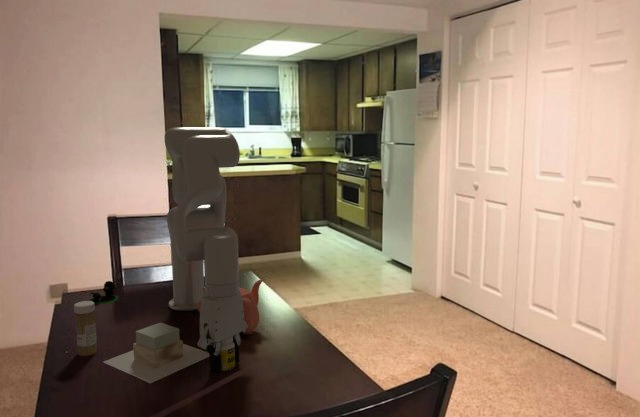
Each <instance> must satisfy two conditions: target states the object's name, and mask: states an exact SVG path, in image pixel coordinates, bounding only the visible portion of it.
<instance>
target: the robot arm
mask: <svg viewBox="0 0 640 417" xmlns="http://www.w3.org/2000/svg"><path fill="white" fill-rule="evenodd" d="M164 144H165V148H166V151H167V153H168V155H169V157H170V159H171V164H172V171H171V172H172V174H171V175H172V177H171V178H172V180H171V185H172V188H171V190H172V191H171V192H172V198H173V201H174V203H175V204H177V206H174V207H172V208H170V210H169V211H168V212H167V213H166V214H167V215H166V222H167V223H166V224H167V229H168V233H169V239H170V249H171V250H170V251H171V268H172V269H171V270H172V272H171V273H172V290H173V291H172V292H173V293H172V294H173V296H172V297H173V298H172V299H171V300H169V302H168V307H169V308H170V309H171V310H174V311H180V312H181V311H182V312H183V311H184V312H185V311H195V310H197V311H198V308H197V305H198V303H199V302H201V301H202V303H201V310H200V313H199V339H198V341H197V343H196V344H197V347H199V348H201V349H203V351H205V352H207V353H209V357H208V358H209V369H211V370H212V371H215V372H219V373H220V372H222V371H221V370H222V366H221V354H219V349H220V343H221V341H222V340H225V339H227V338H229V337H231V336H233V342H234V344H235V364H238V363H240V345H241V343H242V338H243V337H244V335H245V334H244V332H245V331H246V329H247V328H248V324H247V323H246V322H245V321H244V308H243V301H242V296H241V292H240V291H239V287H240V284H241V278H240V272H239V271H240V269H239V268H240V267H239V266H240V263H239V261H240V260H239V237H238V236H239V235H238V233H236V231H235V229H233V228H232V227H229V226H225V224H226V223H225V222H226V210H227V209H226V208H227V196H228V195H227V191H228V190H227V182H226V180H225V178H224V177H223V176H222V174H221V172H220V169H222V168H234V167H237V166H238V164H239V162H240V157H241V154H240V153H241V152H240V146H239V143H238V141H237V139H236V138H235V135H234V134H232V133H231V132H230V131H229V130H228V129H227V128H224V127H197V126H193V127H192V126H191V127H190V126H189V127H188V126H182V127H181V126H179V127H170V128H168V129H167V130H166V131H165V133H164ZM203 288H205V295H204V291H203ZM214 344H215V346H214Z"/></svg>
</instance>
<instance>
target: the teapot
mask: <svg viewBox="0 0 640 417" xmlns="http://www.w3.org/2000/svg"><path fill="white" fill-rule="evenodd" d="M263 282H264V279H263V278H262V279H259V280H256V281H255V282H254V283H253V286H252V288H251V291H250V290H248V289H247V288H243V287H240V286H239V291H240V292H241V296H242V301H243V308H244V321H245V322H246V323H247V324H248V328H247V329H246V331H245V332H244V335H247V336H248V335H252V334H253V333H254V332H253V330H255V329H256V328H257V326H258V325H259V323H260V313H259V309H258V305H259V300H260V299H259V297H260V296H259V290H260V286H261V284H262V283H263ZM203 291H204V295H205V288H203ZM201 303H202V301H201V302H199V303H198V305H197V308H198V309H197V311H198V313H199V314H200V310H201Z"/></svg>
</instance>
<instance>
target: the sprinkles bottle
mask: <svg viewBox="0 0 640 417" xmlns="http://www.w3.org/2000/svg"><path fill="white" fill-rule="evenodd" d="M95 305H96V304H94V302H92V301H89V300H83V301H79V302H76V303H75V304H73V311H74V314H75V330H76V331H75V332H76V333H75V334H76V345H77V355H78V356H80V357H88V356H89V357H90V356H92V355H95V354H96V353H97V352H98V350H97V348H98V347H97V328H96V327H97V326H96V317H95V316H96V314H95V310H96V306H95Z"/></svg>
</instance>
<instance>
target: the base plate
mask: <svg viewBox="0 0 640 417" xmlns="http://www.w3.org/2000/svg"><path fill="white" fill-rule="evenodd" d="M207 358H209V353H207V351H205V350H202V349H199V348H196V347H194V346H191V345H188V344H185V343H183V357H181V358H179V359H176V360H174V361H172V362H170V363H167V364H165V365H163V366H160V367H158V368H156V369H155V368H153V367H150V366H148V365H145V364H143V363H141V362H138V361H136V360H134V350H133V349H132V350H129V351H127V352H125V353H123V354H120V355H119V354H118V355H117V356H115V357H112V358H110V359H107V360H104V361H102V363H104V364H106V365H108V366H110V367H113V368H114V369H116V370H119V371H121V372H124V373H126V374H128V375H131V376H133V377H135V378H137V379H139V380H141V381H144V382H146V383H148V384H152V383H154V382H156V381H159V380H161V379H164V378H165V377H168V376H170V375H172V374H175V373H177V372H178V371H181V370H183V369H185V368H187V367H190V366H192V365H193V364H196V363H198V362H200V361H202V360H205V359H207Z"/></svg>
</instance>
